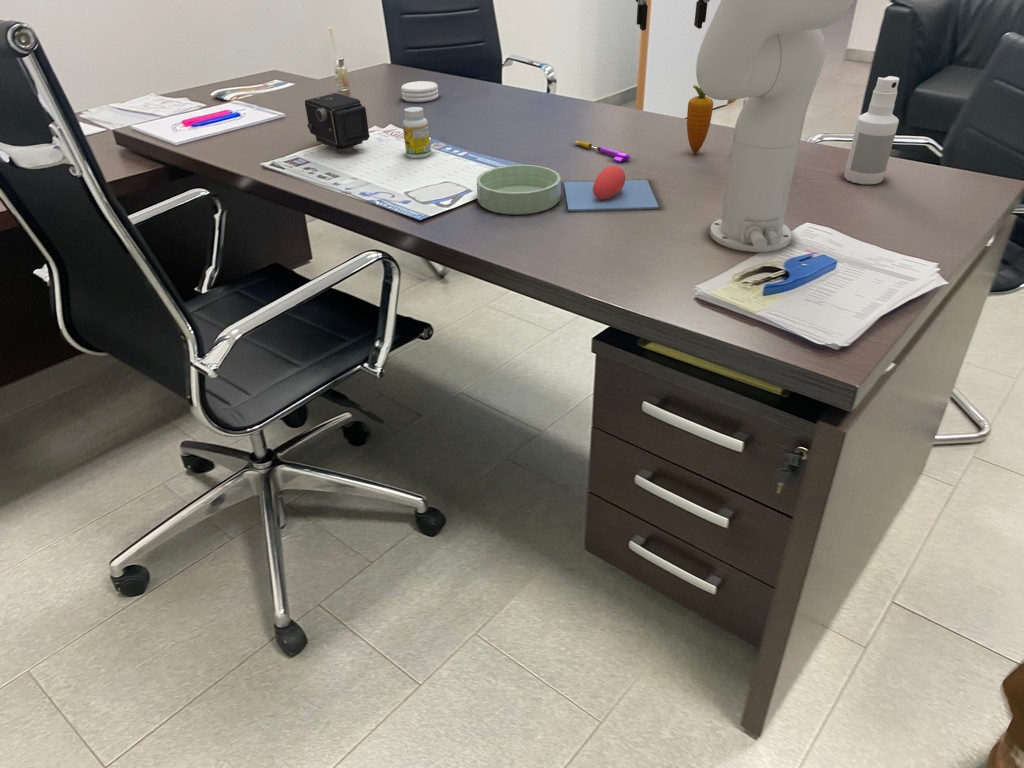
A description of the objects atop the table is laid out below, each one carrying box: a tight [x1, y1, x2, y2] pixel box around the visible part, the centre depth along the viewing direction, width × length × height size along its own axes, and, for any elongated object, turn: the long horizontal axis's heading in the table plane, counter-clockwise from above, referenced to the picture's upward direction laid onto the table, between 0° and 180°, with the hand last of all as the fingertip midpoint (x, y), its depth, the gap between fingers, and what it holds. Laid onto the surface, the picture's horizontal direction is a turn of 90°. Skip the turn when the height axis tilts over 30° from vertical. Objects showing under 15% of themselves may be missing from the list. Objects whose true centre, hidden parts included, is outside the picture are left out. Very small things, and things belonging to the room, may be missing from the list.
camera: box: [304, 92, 370, 154], centre depth 159 cm, size 11×11×15 cm
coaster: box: [400, 80, 439, 103], centre depth 196 cm, size 10×10×4 cm
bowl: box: [476, 164, 562, 216], centre depth 132 cm, size 15×15×4 cm
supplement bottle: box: [402, 106, 432, 159], centre depth 154 cm, size 5×5×10 cm
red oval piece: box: [593, 164, 626, 200], centre depth 131 cm, size 5×9×6 cm, turn 146°
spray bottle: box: [843, 75, 900, 186], centre depth 131 cm, size 7×7×18 cm
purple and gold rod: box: [574, 140, 631, 164], centre depth 153 cm, size 3×1×16 cm
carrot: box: [686, 84, 714, 155], centre depth 147 cm, size 5×5×15 cm
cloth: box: [563, 179, 660, 212], centre depth 133 cm, size 14×16×1 cm
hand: (670, 28), depth 126 cm, fingers open, 9 cm apart
